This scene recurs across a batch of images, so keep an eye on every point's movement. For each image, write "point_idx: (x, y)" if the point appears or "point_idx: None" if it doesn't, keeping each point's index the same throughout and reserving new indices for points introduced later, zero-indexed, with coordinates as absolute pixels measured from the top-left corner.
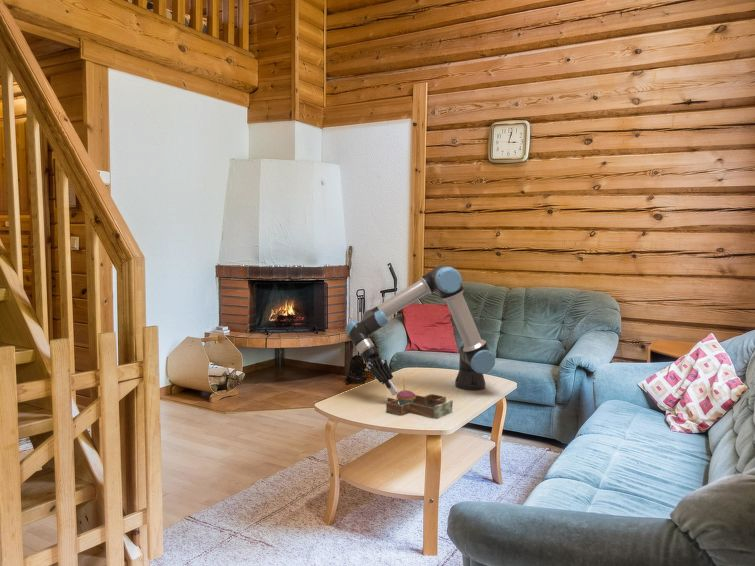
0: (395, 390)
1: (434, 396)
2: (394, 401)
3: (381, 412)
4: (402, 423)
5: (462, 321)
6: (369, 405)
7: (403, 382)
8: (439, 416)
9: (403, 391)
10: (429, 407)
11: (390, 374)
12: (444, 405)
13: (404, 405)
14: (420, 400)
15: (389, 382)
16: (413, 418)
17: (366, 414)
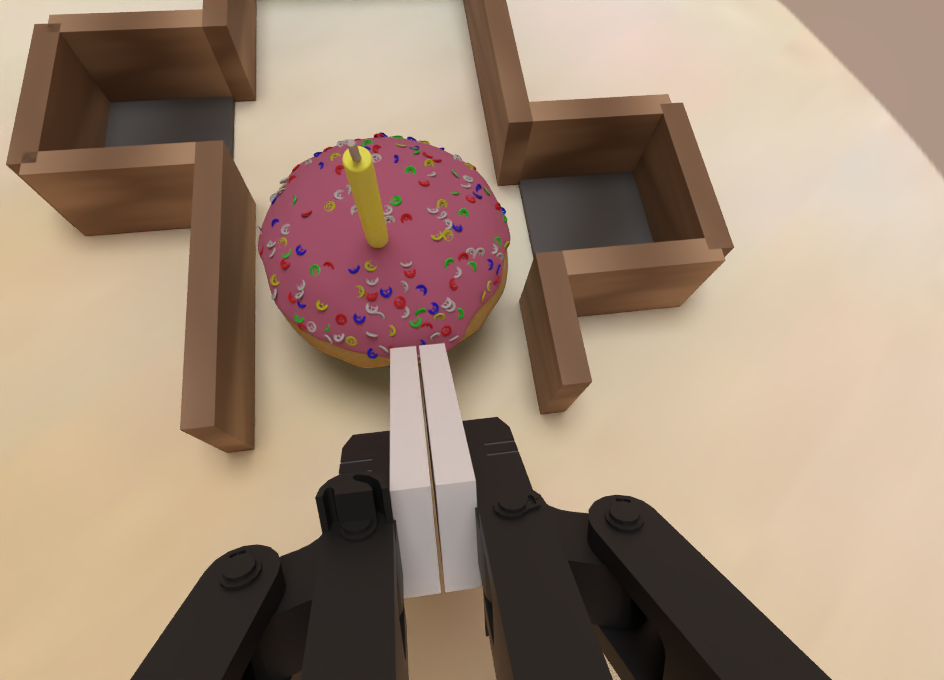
0: (443, 354)
1: (54, 133)
2: (604, 248)
3: (728, 323)
4: (748, 54)
5: None
6: None
7: (374, 171)
8: None
9: (424, 219)
10: None
11: (236, 628)
12: None
13: (623, 97)
14: (238, 205)
15: (467, 456)
16: (601, 70)
17: (890, 367)
